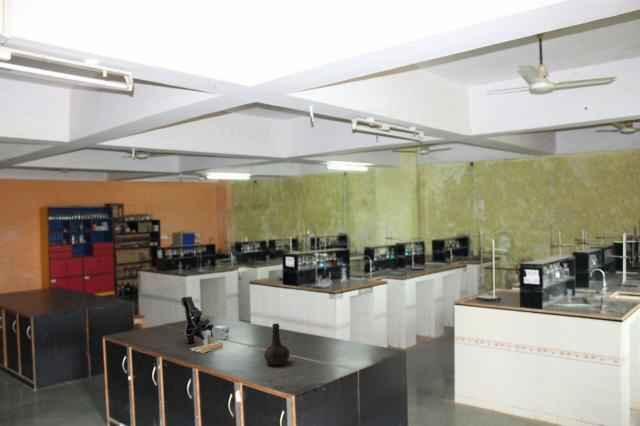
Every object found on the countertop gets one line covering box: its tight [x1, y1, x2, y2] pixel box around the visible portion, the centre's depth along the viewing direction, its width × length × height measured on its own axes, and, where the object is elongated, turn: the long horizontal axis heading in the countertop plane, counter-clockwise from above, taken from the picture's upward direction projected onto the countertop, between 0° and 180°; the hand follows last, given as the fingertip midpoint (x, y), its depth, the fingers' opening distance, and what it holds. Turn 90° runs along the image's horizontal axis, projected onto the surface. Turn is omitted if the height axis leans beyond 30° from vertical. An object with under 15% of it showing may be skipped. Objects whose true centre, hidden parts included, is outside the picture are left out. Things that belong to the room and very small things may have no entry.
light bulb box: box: [214, 325, 230, 340], centre depth 439 cm, size 11×7×11 cm, turn 65°
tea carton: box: [202, 330, 212, 347], centre depth 404 cm, size 4×4×13 cm
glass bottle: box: [263, 323, 290, 366], centre depth 359 cm, size 18×18×28 cm
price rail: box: [201, 341, 224, 352], centre depth 400 cm, size 1×20×3 cm, turn 138°
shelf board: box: [189, 342, 224, 354], centre depth 405 cm, size 16×20×2 cm
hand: (208, 338), depth 404 cm, fingers open, 9 cm apart
